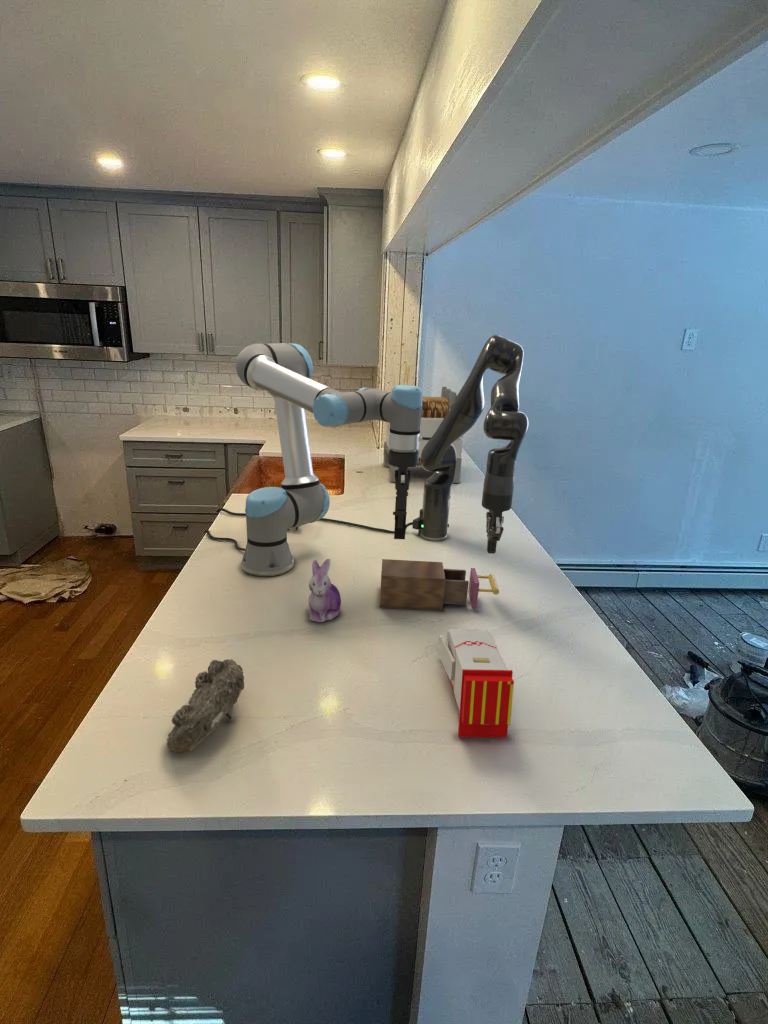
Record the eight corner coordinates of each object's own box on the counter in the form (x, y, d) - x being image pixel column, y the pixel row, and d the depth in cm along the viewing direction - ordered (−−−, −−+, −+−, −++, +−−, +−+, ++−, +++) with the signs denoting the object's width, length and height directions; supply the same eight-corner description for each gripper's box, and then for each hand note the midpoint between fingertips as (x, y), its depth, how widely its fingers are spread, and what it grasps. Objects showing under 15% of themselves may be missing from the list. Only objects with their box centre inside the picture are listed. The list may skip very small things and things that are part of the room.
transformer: (382, 463, 289) (386, 382, 275) (445, 464, 293) (451, 384, 279) (390, 482, 257) (394, 392, 243) (460, 483, 261) (468, 394, 247)
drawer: (491, 593, 159) (494, 569, 156) (497, 609, 150) (500, 584, 148) (417, 589, 159) (419, 565, 156) (418, 605, 150) (420, 580, 148)
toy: (488, 613, 130) (523, 677, 101) (484, 667, 133) (517, 744, 104) (435, 612, 130) (455, 676, 101) (432, 666, 133) (451, 743, 103)
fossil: (192, 660, 117) (244, 628, 112) (224, 691, 120) (276, 661, 115) (142, 746, 98) (202, 712, 93) (182, 779, 101) (242, 748, 96)
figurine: (314, 627, 139) (314, 572, 134) (300, 608, 148) (299, 555, 143) (349, 619, 143) (350, 565, 138) (333, 601, 152) (334, 550, 147)
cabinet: (439, 592, 160) (442, 562, 157) (442, 610, 150) (445, 578, 147) (380, 589, 160) (382, 558, 157) (379, 607, 150) (381, 575, 147)
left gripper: (420, 462, 129) (414, 548, 136) (417, 439, 152) (412, 513, 160) (387, 461, 129) (383, 546, 136) (389, 437, 153) (386, 511, 160)
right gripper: (518, 498, 137) (509, 563, 143) (508, 482, 150) (500, 543, 156) (487, 497, 137) (479, 562, 143) (479, 481, 150) (473, 541, 156)
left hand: (399, 528), depth 148 cm, fingers open, 13 cm apart
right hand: (490, 552), depth 150 cm, fingers closed
